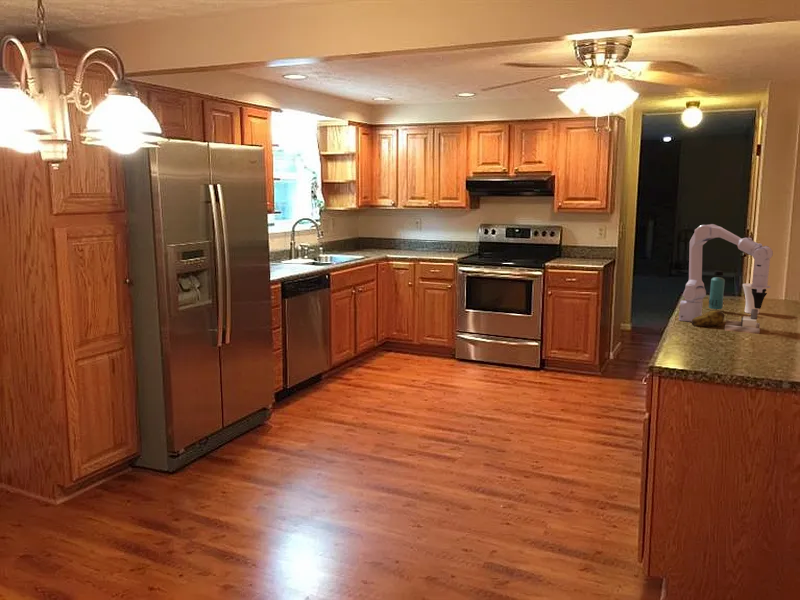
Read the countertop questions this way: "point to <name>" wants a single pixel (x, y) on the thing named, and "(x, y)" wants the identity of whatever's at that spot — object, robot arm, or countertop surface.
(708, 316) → the potato
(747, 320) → the block
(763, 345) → the countertop surface
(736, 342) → the countertop surface
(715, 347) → the countertop surface
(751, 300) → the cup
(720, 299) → the beverage bottle
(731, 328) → the press board
